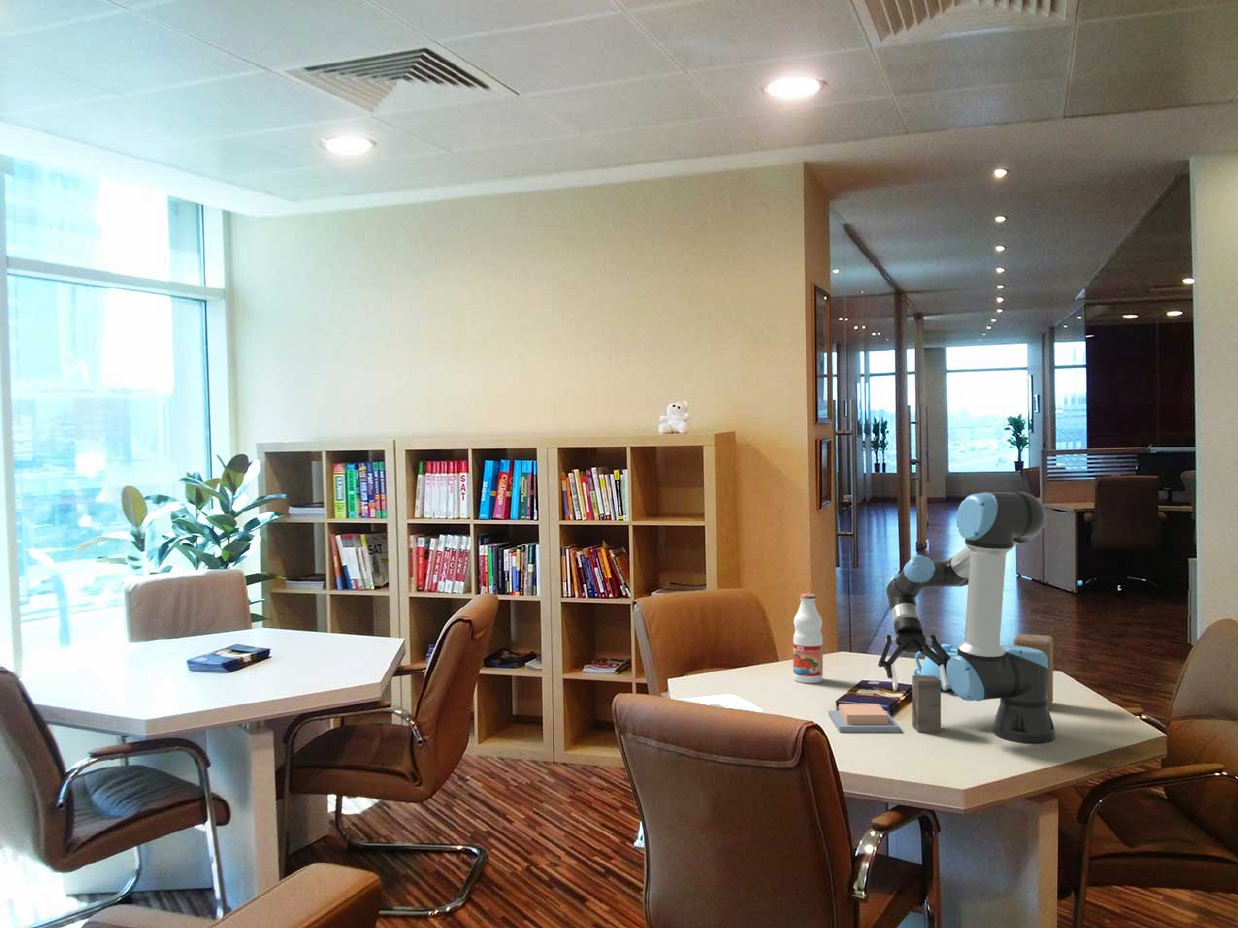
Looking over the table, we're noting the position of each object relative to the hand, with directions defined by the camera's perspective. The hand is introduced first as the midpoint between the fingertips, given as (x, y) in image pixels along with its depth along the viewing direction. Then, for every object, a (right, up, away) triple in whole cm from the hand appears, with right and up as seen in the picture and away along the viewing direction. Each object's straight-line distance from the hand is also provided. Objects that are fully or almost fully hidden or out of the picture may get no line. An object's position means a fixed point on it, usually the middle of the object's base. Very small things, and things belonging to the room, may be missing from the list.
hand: (920, 687), depth 272 cm
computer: (-55, -11, +13) cm, 57 cm away
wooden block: (+39, -10, +20) cm, 45 cm away
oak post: (0, -10, -3) cm, 11 cm away
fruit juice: (-21, -9, +52) cm, 57 cm away
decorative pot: (+21, -9, +41) cm, 47 cm away
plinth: (-15, -10, +2) cm, 19 cm away
